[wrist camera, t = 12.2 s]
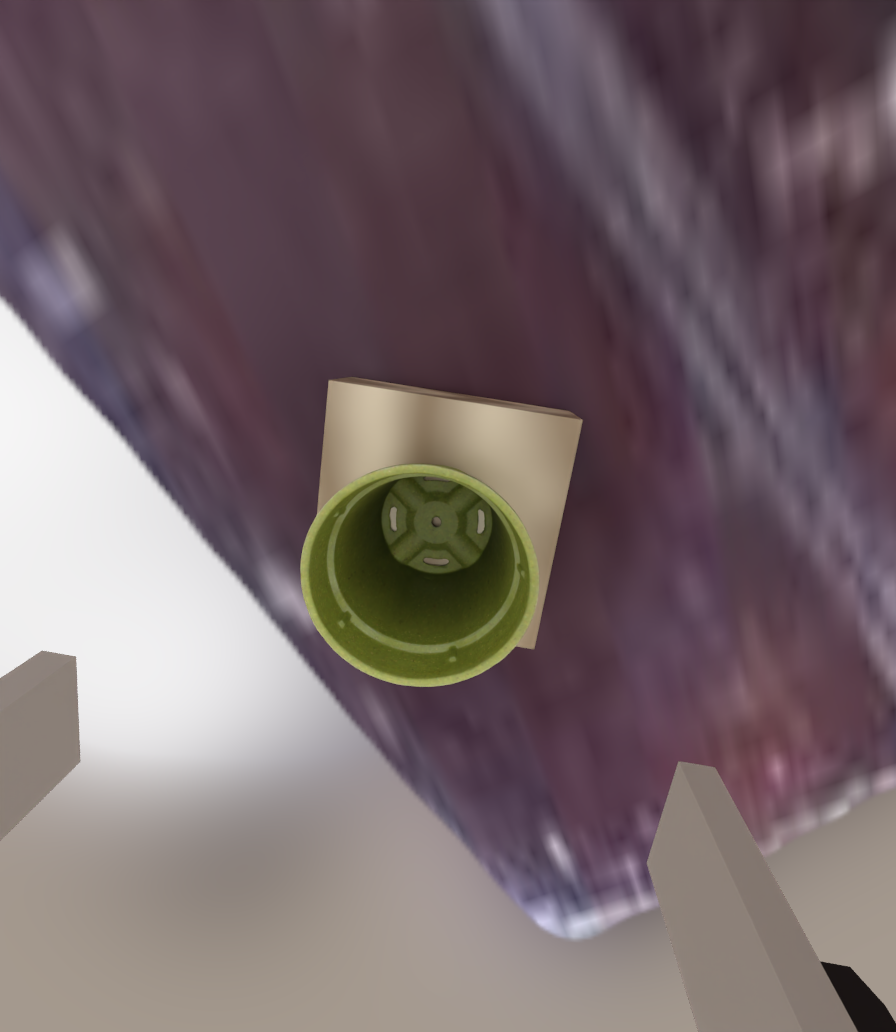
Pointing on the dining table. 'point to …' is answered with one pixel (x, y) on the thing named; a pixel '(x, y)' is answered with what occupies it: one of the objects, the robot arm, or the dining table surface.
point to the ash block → (456, 452)
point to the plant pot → (419, 575)
